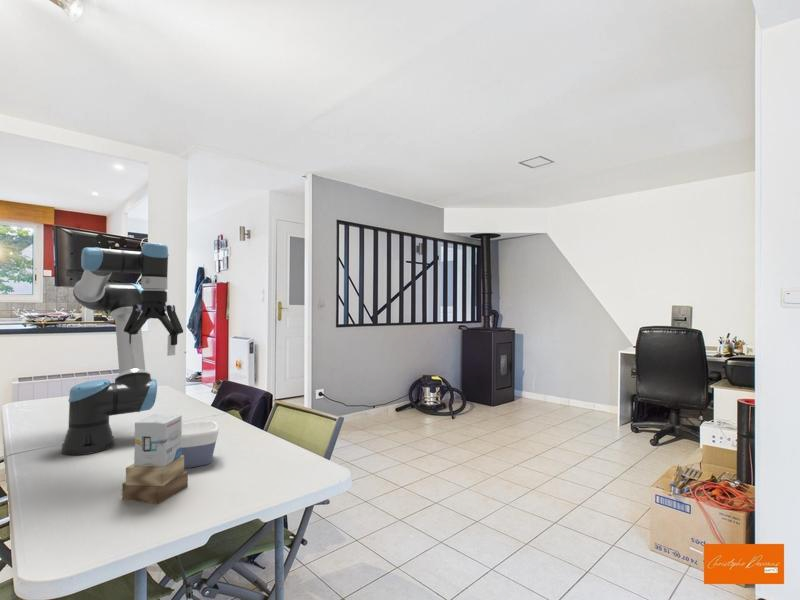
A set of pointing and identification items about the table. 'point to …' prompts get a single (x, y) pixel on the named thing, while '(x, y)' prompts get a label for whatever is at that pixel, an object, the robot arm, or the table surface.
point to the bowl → (198, 442)
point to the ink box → (157, 440)
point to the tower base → (155, 490)
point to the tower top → (154, 473)
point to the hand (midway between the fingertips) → (152, 354)
